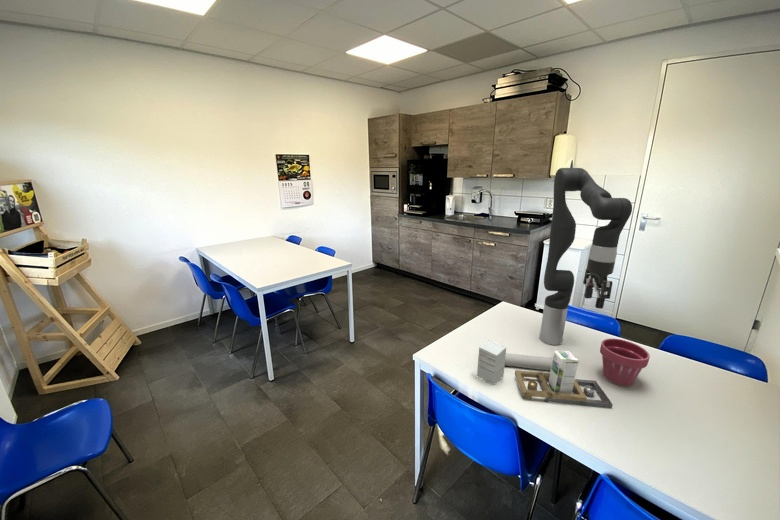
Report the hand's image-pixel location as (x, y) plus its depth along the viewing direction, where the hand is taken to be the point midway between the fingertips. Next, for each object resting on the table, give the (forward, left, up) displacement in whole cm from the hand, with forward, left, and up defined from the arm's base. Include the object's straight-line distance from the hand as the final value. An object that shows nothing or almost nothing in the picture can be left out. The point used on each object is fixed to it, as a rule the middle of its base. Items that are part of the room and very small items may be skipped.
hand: (593, 302), depth 111 cm
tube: (-4, -20, -31) cm, 37 cm away
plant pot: (-1, +14, -30) cm, 33 cm away
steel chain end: (+10, -6, -30) cm, 32 cm away
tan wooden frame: (+10, -14, -30) cm, 35 cm away
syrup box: (+10, -10, -30) cm, 33 cm away
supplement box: (+5, -33, -30) cm, 45 cm away
